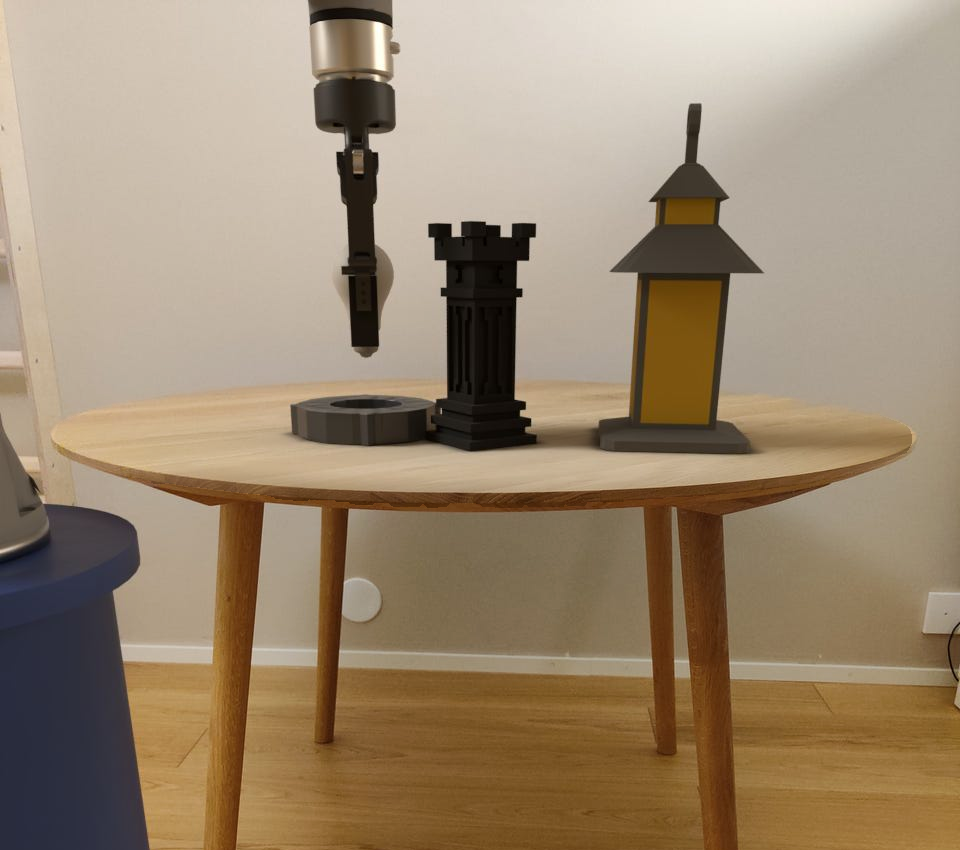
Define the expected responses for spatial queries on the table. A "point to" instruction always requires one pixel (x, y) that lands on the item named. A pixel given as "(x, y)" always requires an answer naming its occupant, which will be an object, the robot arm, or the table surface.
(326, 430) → the hole plate
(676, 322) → the lantern
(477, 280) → the chess piece
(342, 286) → the lightbulb
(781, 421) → the table surface
